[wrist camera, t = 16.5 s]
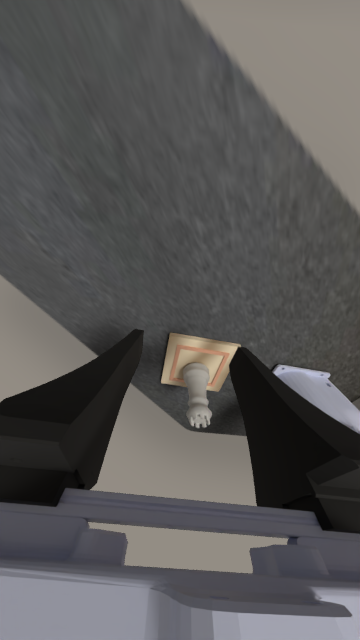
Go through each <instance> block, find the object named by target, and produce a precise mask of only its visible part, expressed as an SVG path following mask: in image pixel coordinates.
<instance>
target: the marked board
mask: <svg viewBox="0 0 360 640" xmlns="http://www.w3.org/2000/svg"><path fill="white" fill-rule="evenodd" d="M238 347H241V345H240V344H235V343H229V342H223V341H218V340H212V339H206V338H200V337H194V336H188V335H182V334H177V333H171V332H170V336H169V341H168V347H167V352H166V357H165V363H164V368H163V374H162V379H161V383H164V384H171V385H178V386H184V387H187V386H186V383H185V382H184V379H183V369H184V368H185V367H186V366H187V365H188V364H190V363H195V362H197V363H202V364H204V365H205V366H206V367H207V368H208V369H209V376H210V379H209V382H208V384H207V387H206V390H211V391H218V392H219V390H220V388H221V386H222V384H223V382H224V380H225V378H226V377H227V375H228V373H229V371H230V370H229V364H230V362H231V360H232V358H233V356H234V354H235V352H236V350H237V348H238Z"/></svg>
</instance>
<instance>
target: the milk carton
mask: <svg viewBox="0 0 360 640" xmlns="http://www.w3.org/2000/svg"><path fill="white" fill-rule="evenodd" d="M352 404H353V405H354V406H355V407H356V408H357V409H358V410H359V411H360V398H359V399H357V400H355V401H354V402H352Z"/></svg>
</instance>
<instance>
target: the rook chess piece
mask: <svg viewBox="0 0 360 640" xmlns="http://www.w3.org/2000/svg"><path fill="white" fill-rule="evenodd" d="M183 379H184V382H185V383H186V386H187V387H188V391H189V401H188V404H189V406H190V408H189V410H188V411H187V414H186V415H187V417H188V419H189V423H190V425H191V426H194V423H195V427H196V428H199V424H202V427H203V428H204V427H207V426H206V423H207V425H210V418H211V416H212V412H211V411H210V410H209V409H208V408H207V405H208V403H209V402H208V400H207V398H206V387H207V384H208V382H209V379H210V376H209V369H208V368H207V367H206V366H205V365H204V364H202V363H197V362H195V363H190V364H188V365H187V366H186V367H185V368H184V369H183Z"/></svg>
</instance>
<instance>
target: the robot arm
mask: <svg viewBox="0 0 360 640" xmlns="http://www.w3.org/2000/svg"><path fill="white" fill-rule="evenodd" d="M143 332H144V330H138V329H135V330H133V331H132V332H131V333H130V334H128V335H127V336H126V337H125V338H124V339H122V340H121V341H120V342H119V343H117V344H116V345H115V346H113V347H112V348H111V349H109V350H108V351H106V352H105V353H103V354H102V355H100V356H99V357H97V358H96V359H94V360H92V361H91V362H89V363H87V364H85V365H83V366H82V367H80V368H78V369H76V370H74V371H72V372H70V373H68V374H66V375H63V376H61V377H59V378H57V379H55V380H52V381H50V382H48V383H46V384H43V385H40V386H38V387H35V388H33V389H30V390H28V391H25V392H22V393H20V394H17V395H15V396H12V397H9V398H6V399H4V400H3V401H1V402H0V640H360V411H359V410H358V409H357V408H356V407H355V406H354V405H353V404H352V403H351V402H350V401H349V400H348V399H347V398H346V397H345V396H344V395H343V394H342V393H341V392H340V391H339V390H338V389H337V388H336V387H335V386H334V385H333V384H332V383H331V382H330V381H329V380H328V379H327V378H329V377H330V374H329V373H328V372H322V371H316V370H310V369H304V368H298V367H292V366H286V365H277V366H276V367H275V369H274V370H273V371H271V370H270V369H268V368H267V367H266V366H265V365H264V364H263V363H262V362H261V361H260V360H259V359H258V358H257V357H256V356H255V355H254V354H252V353H251V352H250V351H249V350H248V349H247V348H244V347H238V348H237V350H236V352H235V354H234V356H233V358H232V360H231V362H230V364H229V370H230V376H231V380H232V383H233V386H234V390H235V393H236V396H237V399H238V402H239V405H240V408H241V412H242V416H243V420H244V425H245V430H246V435H247V440H248V445H249V451H250V457H251V464H252V470H253V477H254V486H255V494H256V503H257V506H248V505H237V504H227V503H216V502H206V501H195V500H186V499H175V498H164V497H155V496H144V495H134V494H123V493H113V492H103V491H92V490H90V489H91V488H92V487H93V486H94V485H95V484H96V483H97V480H98V477H99V474H100V470H101V467H102V464H103V460H104V457H105V453H106V450H107V447H108V444H109V441H110V437H111V434H112V431H113V428H114V425H115V422H116V419H117V416H118V412H119V409H120V406H121V404H122V401H123V398H124V395H125V393H126V391H127V388H128V386H129V384H130V382H131V379H132V377H133V375H134V373H135V370H136V368H137V366H138V363H139V360H140V357H141V354H142V346H143ZM88 522H97V523H109V524H120V525H132V526H144V527H156V528H169V529H180V530H193V531H205V532H217V533H229V534H242V535H254V536H265V537H277V538H289V539H288V542H287V545H271V546H268V547H260V548H250V556H251V561H252V565H253V573H252V574H248V573H233V572H218V571H203V570H187V569H172V568H157V567H139V566H126V565H124V561H125V554H126V549H127V544H128V541H127V539H126V535H125V533H119V532H113V531H106V530H100V529H89V524H88Z"/></svg>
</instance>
